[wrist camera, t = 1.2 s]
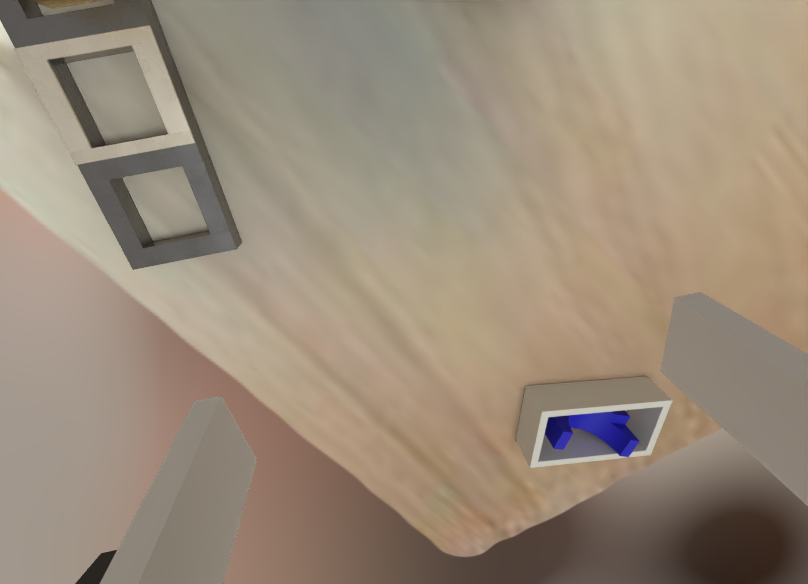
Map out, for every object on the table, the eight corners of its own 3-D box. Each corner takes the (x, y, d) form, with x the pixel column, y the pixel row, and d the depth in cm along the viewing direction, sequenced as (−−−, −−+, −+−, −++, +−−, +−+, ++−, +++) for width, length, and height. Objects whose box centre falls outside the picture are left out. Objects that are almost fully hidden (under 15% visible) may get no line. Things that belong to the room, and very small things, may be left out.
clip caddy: (525, 385, 52) (542, 411, 48) (646, 376, 54) (672, 400, 50) (515, 439, 56) (529, 467, 52) (627, 428, 59) (650, 454, 54)
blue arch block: (617, 402, 56) (645, 432, 51) (602, 424, 58) (628, 457, 53) (546, 391, 53) (568, 422, 48) (533, 415, 55) (553, 448, 50)
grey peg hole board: (-51, -115, 26) (-84, -134, 24) (98, -138, 26) (78, -158, 24) (143, 262, 38) (131, 270, 36) (241, 242, 39) (236, 249, 37)
